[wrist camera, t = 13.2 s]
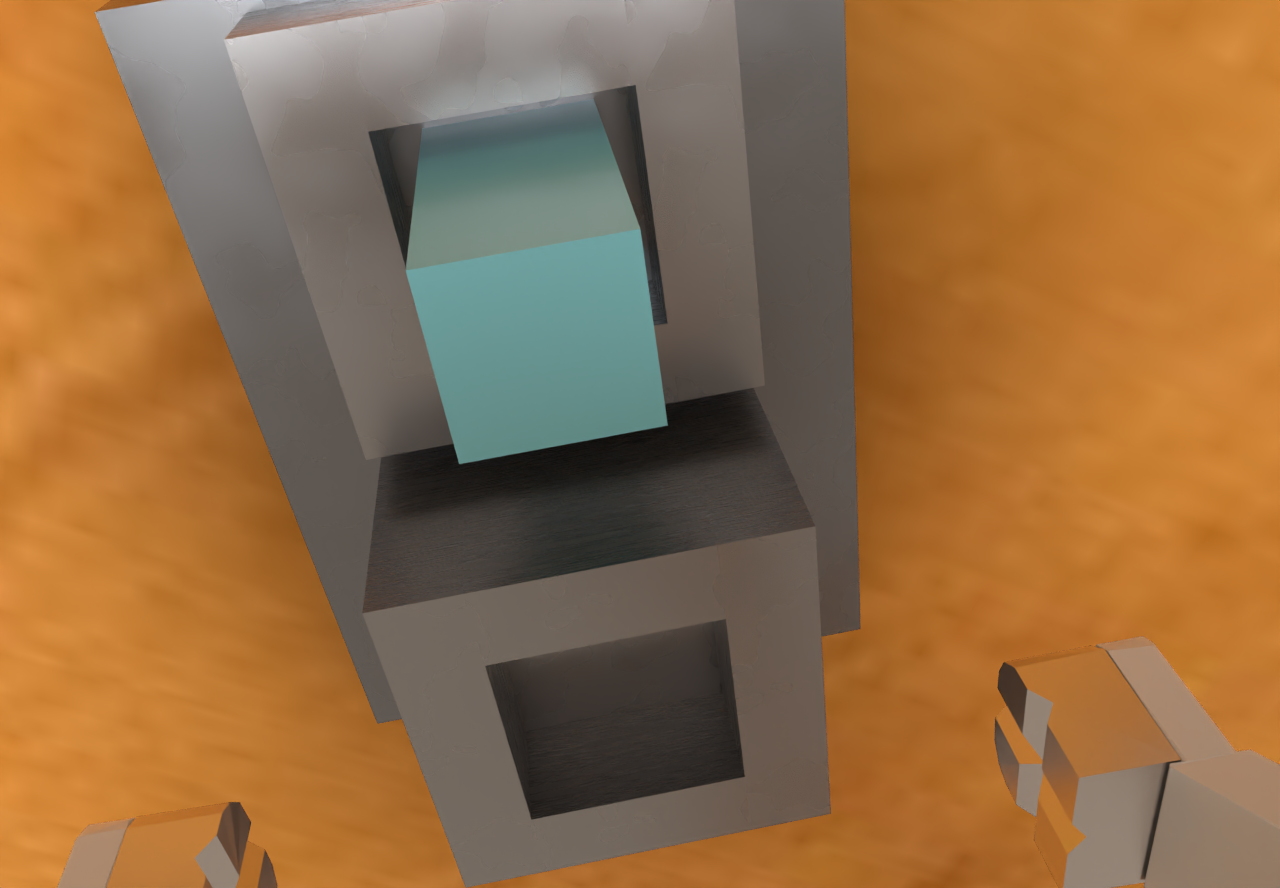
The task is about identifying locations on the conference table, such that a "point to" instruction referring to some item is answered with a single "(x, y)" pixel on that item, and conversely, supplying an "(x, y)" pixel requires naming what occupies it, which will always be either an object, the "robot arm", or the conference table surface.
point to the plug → (532, 283)
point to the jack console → (561, 475)
